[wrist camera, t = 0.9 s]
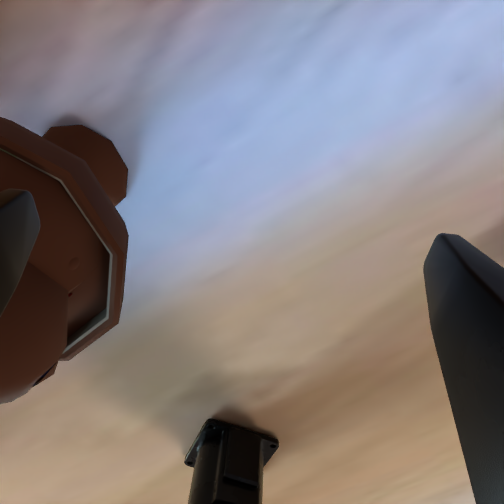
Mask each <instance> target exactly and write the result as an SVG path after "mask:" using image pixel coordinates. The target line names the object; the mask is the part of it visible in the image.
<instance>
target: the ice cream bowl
mask: <svg viewBox="0 0 504 504" xmlns="http://www.w3.org/2000/svg"><path fill="white" fill-rule="evenodd" d="M127 176H128V168H127V167H126V165H125V163H124V162H123V160H122V158H121V157H120V155H119V153H118V152H117V150H116V148H115V147H114V145H113V143H112V141H110V140H108V139H106V138H105V137H103V136H101V135H99V134H97V133H96V132H94V131H92V130H90V129H88V128H87V127H85V126H83V125H71V126H58V127H51V128H50V129H49V130H48V131H47V132H46V133H45V134H44V136H43V137H41V136H39V135H37V134H35V133H33V132H31V131H30V130H28V129H26V128H24V127H22V126H20V125H18V124H17V123H15V122H13V121H11V120H8V119H5V118H2V117H0V192H1V191H4V190H6V189H21V190H27V191H29V192H30V193H31V194H32V196H33V199H34V202H35V206H36V209H37V212H38V216H39V219H40V231H39V234H38V236H37V239H36V241H35V244H34V246H33V249H32V251H31V254H30V256H29V259H28V261H27V264H26V266H25V269H24V271H23V274H22V276H21V278H20V281H19V283H18V285H17V287H16V289H15V291H14V293H13V295H12V297H11V299H10V300H9V302H8V304H7V306H6V308H5V310H4V311H3V313H2V315H1V317H0V404H3V403H8V402H12V401H14V400H15V399H17V398H19V397H21V396H22V395H24V394H26V393H27V392H28V391H29V390H30V389H31V388H32V387H34V386H35V385H37V384H39V383H40V382H42V381H44V380H45V379H47V378H48V377H50V376H51V375H53V374H54V372H55V369H56V366H57V363H58V361H69V360H70V359H72V358H73V357H74V356H76V355H77V354H78V353H80V352H81V351H82V350H84V349H85V348H86V347H88V346H89V345H90V344H92V343H93V342H94V341H96V340H97V339H98V338H100V337H101V336H102V335H104V334H105V333H106V332H108V331H109V330H110V329H112V328H113V327H114V326H115V325H117V324H118V323H119V318H120V313H121V307H122V302H123V294H124V283H125V271H126V259H127V248H128V232H127V229H126V225H125V222H124V221H123V219H122V218H121V216H120V214H119V213H118V211H117V210H116V208H115V206H116V205H117V204H118V203H119V202H121V201H122V200H123V199H124V198H125V197H126V189H127Z"/></svg>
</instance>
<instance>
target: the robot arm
mask: <svg viewBox="0 0 504 504" xmlns="http://www.w3.org/2000/svg"><path fill="white" fill-rule="evenodd" d="M39 231H40V219H39V216H38V212H37V209H36V206H35V202H34V199H33V196H32V194H31V193H30V192H29V191H27V190H21V189H6V190H4V191H1V192H0V317H1V315H2V313H3V311H4V310H5V308H6V306H7V304H8V302H9V300H10V299H11V297H12V295H13V293H14V291H15V289H16V287H17V285H18V283H19V281H20V278H21V276H22V274H23V271H24V269H25V266H26V264H27V261H28V259H29V256H30V254H31V251H32V249H33V246H34V244H35V241H36V239H37V236H38V234H39ZM423 271H424V279H425V287H426V295H427V303H428V310H429V318H430V325H431V330H432V335H433V339H434V343H435V347H436V350H437V354H438V358H439V362H440V366H441V370H442V374H443V378H444V381H445V385H446V389H447V393H448V397H449V401H450V405H451V408H452V412H453V416H454V420H455V424H456V428H457V432H458V435H459V439H460V443H461V447H462V451H463V455H464V459H465V463H466V466H467V470H468V474H469V478H470V482H471V486H472V490H473V493H474V497H475V501H476V504H504V268H503V267H502V266H500V265H499V264H497V263H496V262H495V261H493V260H492V259H491V258H489V257H488V256H487V255H485V254H484V253H482V252H481V251H480V250H478V249H477V248H476V247H474V246H473V245H472V244H470V243H469V242H468V241H466V240H465V239H463V238H462V237H461V236H459V235H456V234H446V233H441V234H439V235H437V236H436V238H435V240H434V242H433V244H432V246H431V248H430V251H429V253H428V255H427V257H426V259H425V262H424V268H423ZM278 447H279V441H278V440H277V439H275V438H272V437H269V436H266V435H263V434H260V433H256V432H253V431H250V430H247V429H244V428H240V427H237V426H234V425H231V424H228V423H224V422H221V421H218V420H215V419H208V420H207V421H206V422H205V424H204V426H203V427H202V429H201V431H200V433H199V434H198V436H197V438H196V440H195V441H194V443H193V445H192V447H191V448H190V450H189V452H188V454H187V455H186V457H185V462H184V463H185V464H186V465H187V466H190V467H194V472H193V478H192V483H191V489H190V495H189V500H188V504H262V491H263V467H264V466H265V465H266V463H267V462H268V461H269V459H270V458H271V457H272V455H273V454H274V453H275V451H276V450H277V449H278Z"/></svg>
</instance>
